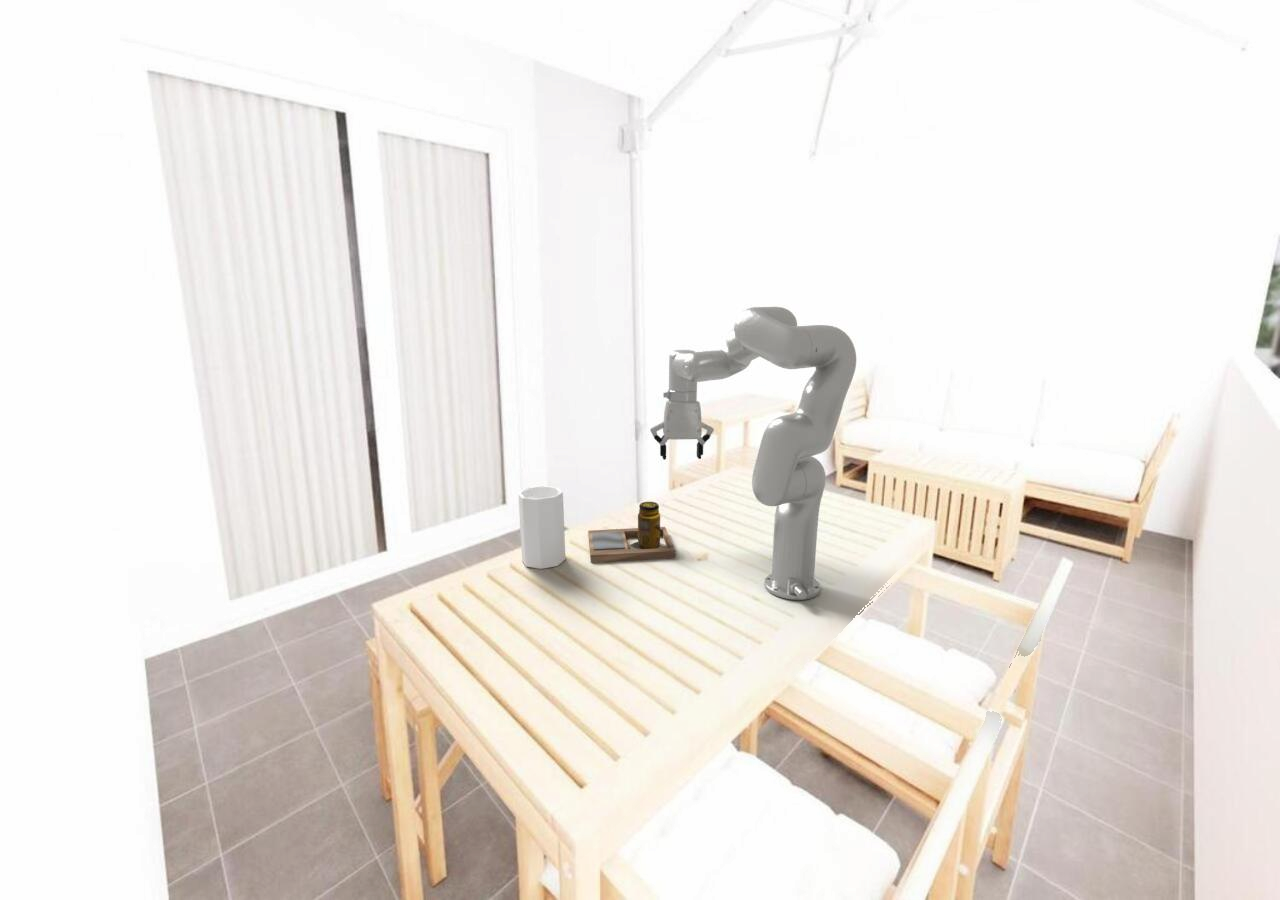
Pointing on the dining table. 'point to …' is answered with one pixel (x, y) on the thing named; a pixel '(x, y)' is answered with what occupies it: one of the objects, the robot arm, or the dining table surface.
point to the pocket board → (624, 546)
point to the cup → (542, 526)
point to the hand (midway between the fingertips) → (681, 458)
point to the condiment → (648, 527)
